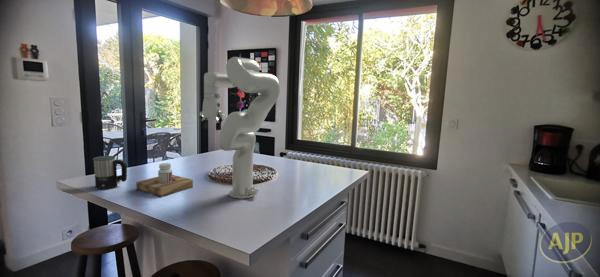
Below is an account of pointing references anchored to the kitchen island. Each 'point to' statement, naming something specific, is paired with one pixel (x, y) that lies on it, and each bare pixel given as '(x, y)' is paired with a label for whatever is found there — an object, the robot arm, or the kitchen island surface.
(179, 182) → the socket block
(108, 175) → the milk frother
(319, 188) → the kitchen island surface
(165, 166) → the pill bottle
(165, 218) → the kitchen island surface
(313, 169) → the kitchen island surface
